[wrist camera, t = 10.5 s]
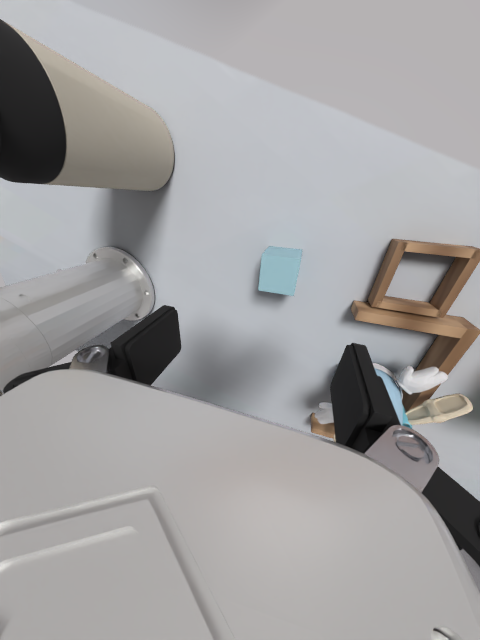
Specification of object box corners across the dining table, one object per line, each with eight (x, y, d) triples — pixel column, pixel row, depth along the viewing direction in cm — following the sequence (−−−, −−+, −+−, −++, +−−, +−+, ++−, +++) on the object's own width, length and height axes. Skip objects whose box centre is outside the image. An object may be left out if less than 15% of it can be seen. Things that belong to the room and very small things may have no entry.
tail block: (265, 277, 28) (258, 290, 24) (269, 246, 26) (261, 254, 22) (296, 281, 27) (293, 295, 23) (302, 249, 25) (301, 259, 21)
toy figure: (397, 315, 26) (480, 424, 13) (446, 370, 27) (563, 515, 15) (292, 373, 35) (283, 471, 22) (334, 412, 36) (347, 525, 24)
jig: (310, 416, 38) (311, 432, 36) (377, 237, 22) (385, 242, 20) (381, 436, 36) (386, 454, 33) (510, 250, 20) (539, 257, 17)
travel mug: (176, 195, 26) (-4, 187, 11) (122, 186, 27) (-104, 168, 12) (174, 107, 22) (-118, -95, 7) (110, 102, 23) (-250, -77, 8)
